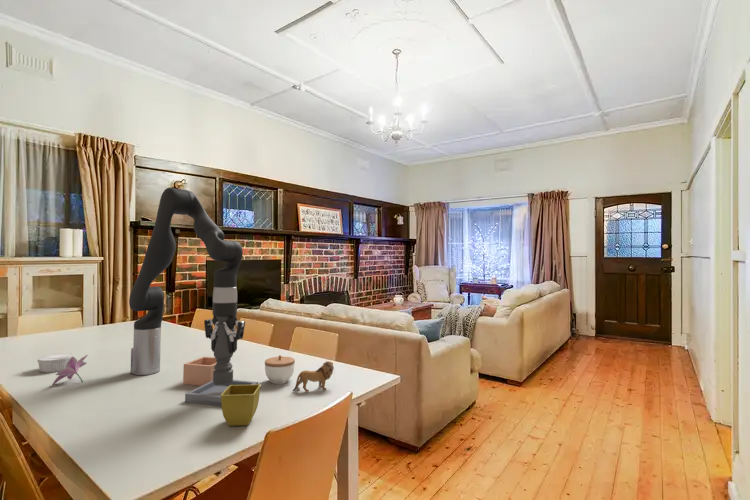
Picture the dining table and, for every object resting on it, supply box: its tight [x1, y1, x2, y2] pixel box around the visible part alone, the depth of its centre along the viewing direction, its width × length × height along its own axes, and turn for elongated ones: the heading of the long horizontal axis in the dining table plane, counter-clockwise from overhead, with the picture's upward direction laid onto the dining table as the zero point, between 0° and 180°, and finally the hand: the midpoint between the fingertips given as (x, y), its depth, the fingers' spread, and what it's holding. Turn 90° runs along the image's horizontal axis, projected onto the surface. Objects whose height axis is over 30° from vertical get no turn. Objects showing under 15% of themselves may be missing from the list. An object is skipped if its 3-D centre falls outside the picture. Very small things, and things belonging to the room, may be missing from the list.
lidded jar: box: [264, 355, 296, 385], centre depth 141 cm, size 11×11×9 cm
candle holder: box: [213, 316, 234, 384], centre depth 126 cm, size 6×6×25 cm
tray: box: [184, 379, 259, 407], centre depth 126 cm, size 16×16×2 cm
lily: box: [52, 354, 89, 386], centre depth 137 cm, size 12×12×10 cm
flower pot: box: [221, 384, 261, 427], centre depth 106 cm, size 9×9×9 cm
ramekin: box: [37, 352, 75, 373], centre depth 152 cm, size 11×11×5 cm
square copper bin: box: [182, 356, 217, 387], centre depth 141 cm, size 11×11×7 cm
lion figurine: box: [292, 360, 335, 393], centre depth 133 cm, size 15×5×9 cm, turn 119°
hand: (224, 351), depth 126 cm, fingers closed on candle holder, 6 cm apart
